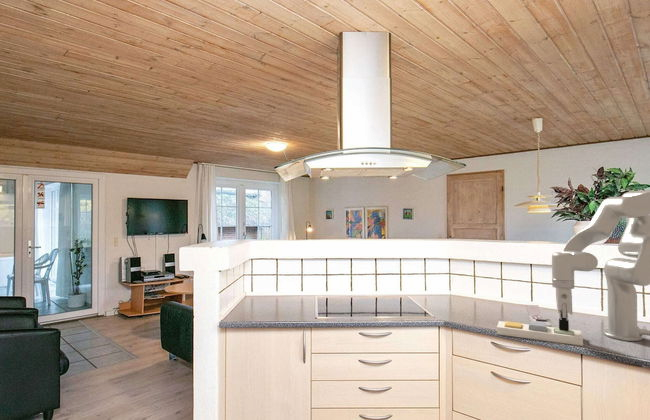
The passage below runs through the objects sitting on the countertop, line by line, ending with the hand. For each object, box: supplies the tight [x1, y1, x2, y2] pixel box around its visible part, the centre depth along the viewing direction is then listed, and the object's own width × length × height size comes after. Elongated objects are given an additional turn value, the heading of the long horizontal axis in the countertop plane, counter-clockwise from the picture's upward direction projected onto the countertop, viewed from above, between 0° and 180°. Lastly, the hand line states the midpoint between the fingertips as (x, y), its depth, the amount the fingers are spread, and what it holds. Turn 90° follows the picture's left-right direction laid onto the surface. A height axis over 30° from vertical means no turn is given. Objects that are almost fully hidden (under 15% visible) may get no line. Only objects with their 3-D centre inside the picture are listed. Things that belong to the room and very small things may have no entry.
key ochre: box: [505, 320, 523, 329], centre depth 163 cm, size 6×6×2 cm
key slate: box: [529, 320, 547, 332], centre depth 159 cm, size 6×6×2 cm
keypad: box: [496, 320, 584, 346], centre depth 159 cm, size 30×10×3 cm, turn 61°
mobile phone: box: [525, 304, 552, 327], centre depth 176 cm, size 6×6×25 cm
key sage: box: [554, 326, 573, 335], centre depth 154 cm, size 6×6×2 cm
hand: (563, 329), depth 154 cm, fingers closed
